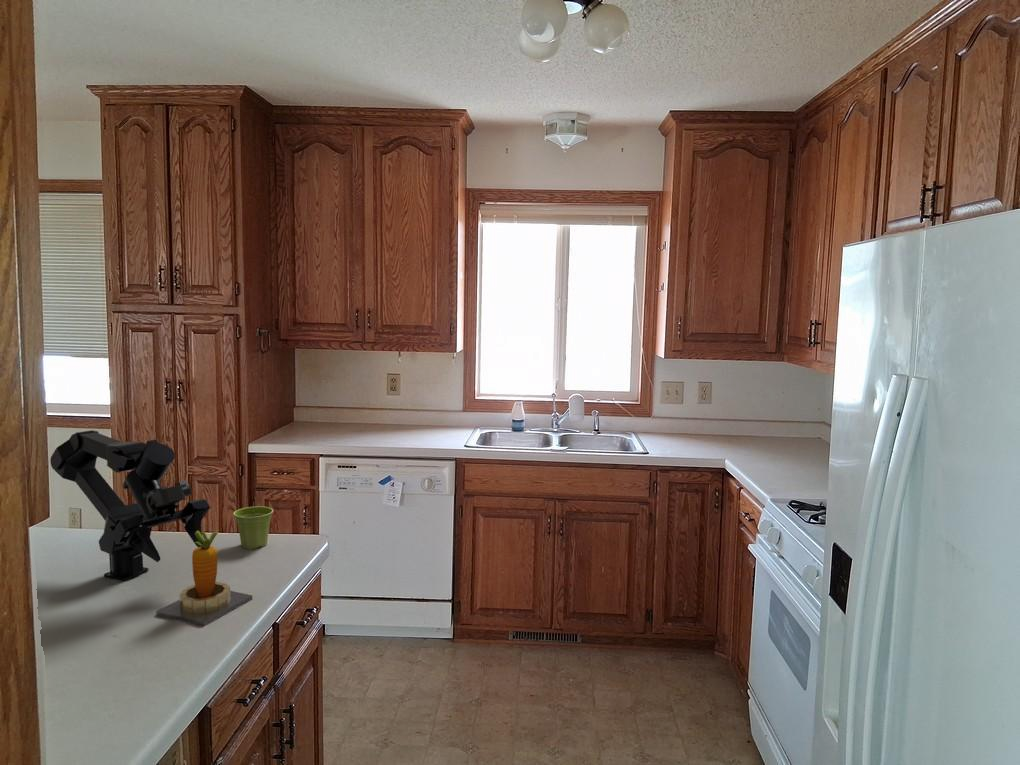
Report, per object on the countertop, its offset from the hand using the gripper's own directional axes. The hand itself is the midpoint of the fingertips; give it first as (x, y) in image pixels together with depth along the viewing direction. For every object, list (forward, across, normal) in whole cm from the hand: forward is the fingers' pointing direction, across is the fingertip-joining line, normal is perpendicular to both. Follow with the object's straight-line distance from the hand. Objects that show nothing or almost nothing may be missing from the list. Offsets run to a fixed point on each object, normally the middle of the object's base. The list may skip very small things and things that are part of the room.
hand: (180, 553), depth 143 cm
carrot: (+12, 0, +1) cm, 12 cm away
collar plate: (+12, 0, +1) cm, 12 cm away
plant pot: (-3, +28, +17) cm, 33 cm away
